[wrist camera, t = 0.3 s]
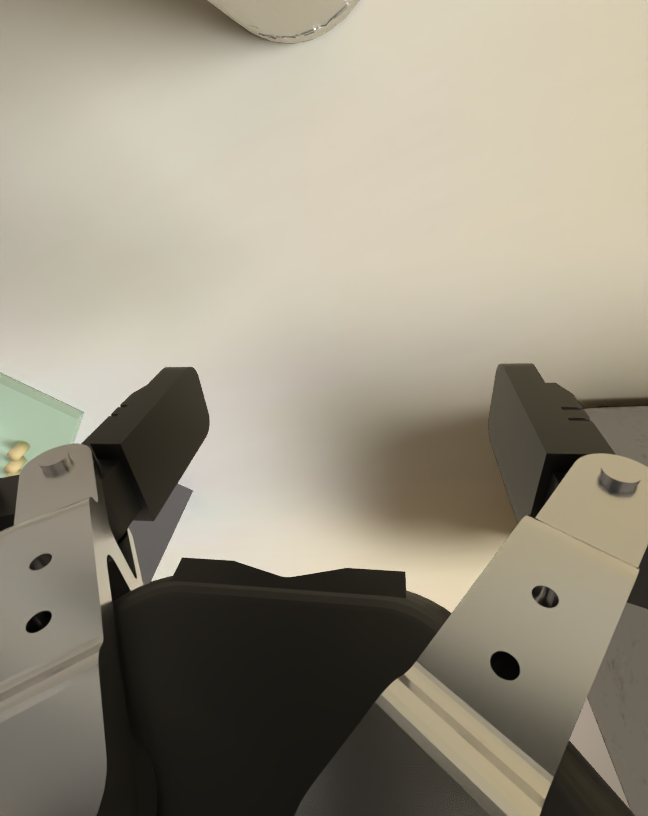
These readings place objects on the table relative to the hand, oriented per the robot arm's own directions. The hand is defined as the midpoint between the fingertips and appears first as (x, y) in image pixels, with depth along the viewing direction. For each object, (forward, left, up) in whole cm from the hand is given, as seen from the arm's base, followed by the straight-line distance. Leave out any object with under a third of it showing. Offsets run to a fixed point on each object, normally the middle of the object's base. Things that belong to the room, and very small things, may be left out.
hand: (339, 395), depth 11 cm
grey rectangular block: (+20, -22, -18) cm, 35 cm away
